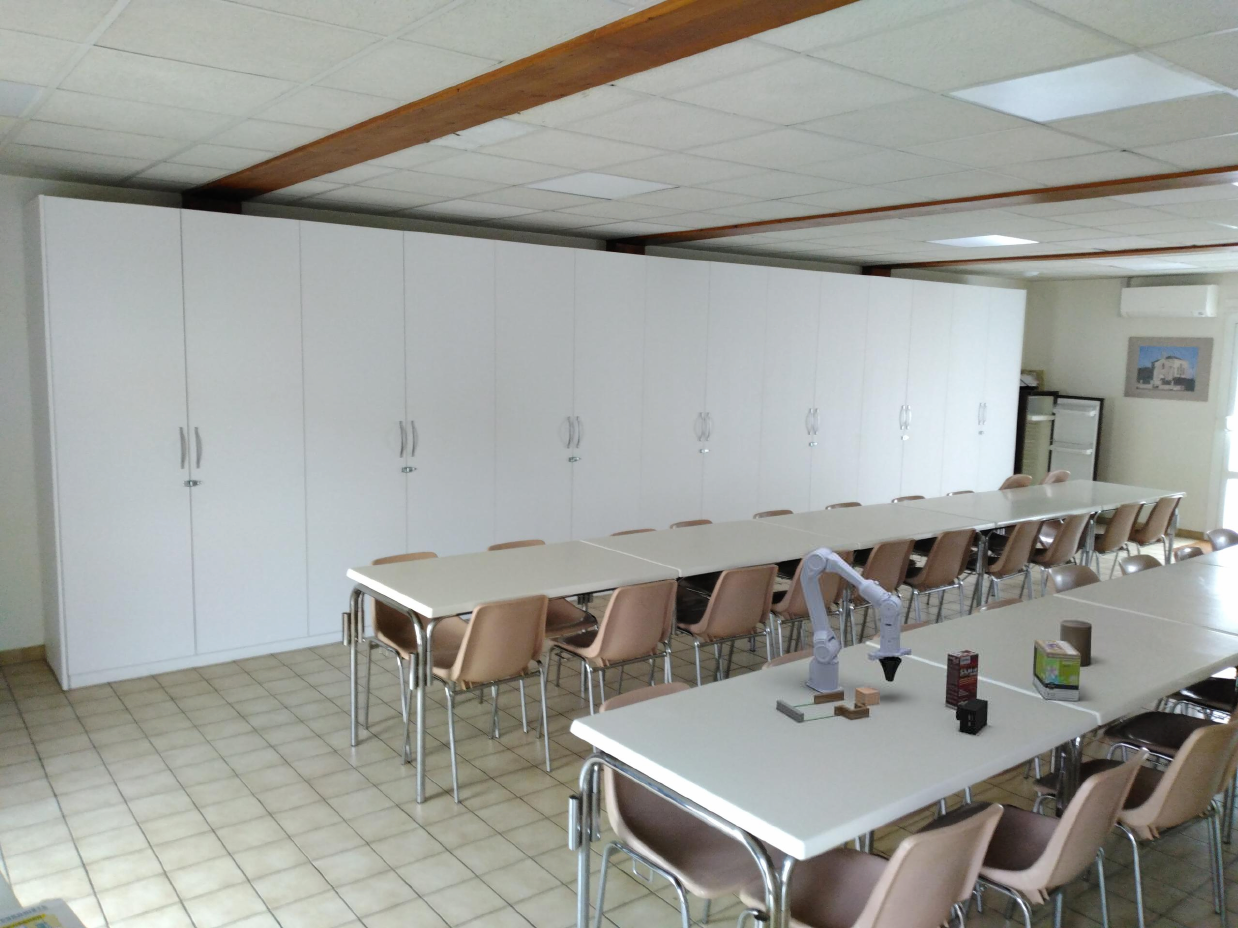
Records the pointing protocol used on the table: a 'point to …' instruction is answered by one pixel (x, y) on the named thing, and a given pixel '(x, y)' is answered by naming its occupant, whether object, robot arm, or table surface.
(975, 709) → the digital camera
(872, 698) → the block
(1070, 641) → the pillar candle
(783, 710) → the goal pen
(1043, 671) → the tea box
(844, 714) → the channel
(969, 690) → the supplement box
